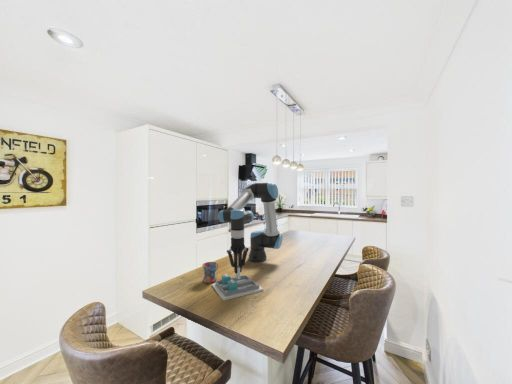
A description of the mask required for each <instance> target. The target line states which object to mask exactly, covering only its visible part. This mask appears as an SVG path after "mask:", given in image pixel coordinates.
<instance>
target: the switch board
mask: <svg viewBox="0 0 512 384" xmlns="http://www.w3.org/2000/svg"><path fill="white" fill-rule="evenodd" d="M231 280H235V281H236V282H237V289H235V290H231V291H228V284H225V285H222V279H220V280H218V279H217V280H216V281H215V282H214V283H211V286H212V288H213V290H215V292H216V293H217V294H218V295H219V297H220V299H221V300H222V301H224V302H225V301H228V300H231V299H236V298H239V297H243V296H247V295H251V294H255V293H258V292H262V291H264V288H263V287H262V286H261V285H260V284H259V283H257V282H255V281H254V280H253V279H252V278H250V277H249V275H246V274H244V275H243V274H242V275H241V274H240V279H237V278H236V276H234V277H231Z"/></svg>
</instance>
